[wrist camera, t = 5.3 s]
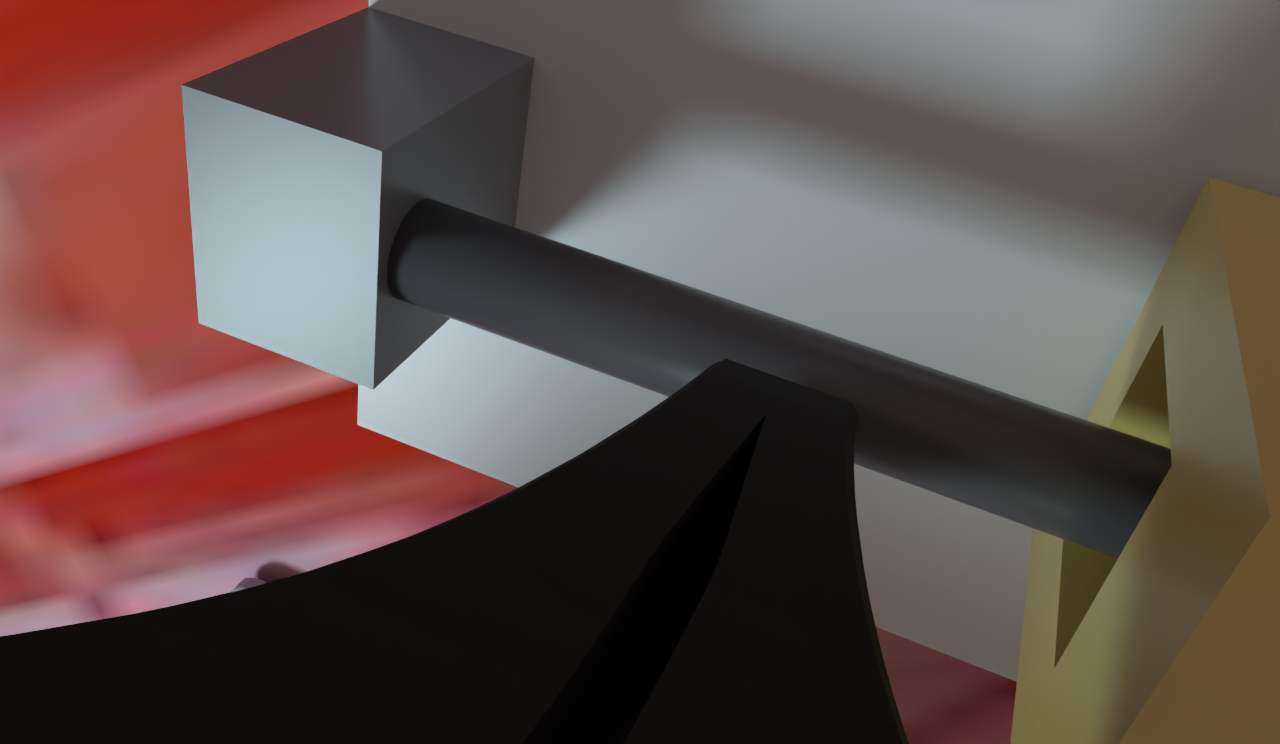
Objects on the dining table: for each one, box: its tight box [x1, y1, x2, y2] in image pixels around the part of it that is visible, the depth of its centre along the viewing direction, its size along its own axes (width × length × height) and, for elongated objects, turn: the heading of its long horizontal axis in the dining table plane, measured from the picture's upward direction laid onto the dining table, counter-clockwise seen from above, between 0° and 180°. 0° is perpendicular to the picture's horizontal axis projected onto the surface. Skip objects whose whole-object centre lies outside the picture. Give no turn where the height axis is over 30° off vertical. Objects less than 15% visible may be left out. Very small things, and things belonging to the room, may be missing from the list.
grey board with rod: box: [182, 0, 1280, 682], centre depth 11 cm, size 11×18×7 cm, turn 80°
